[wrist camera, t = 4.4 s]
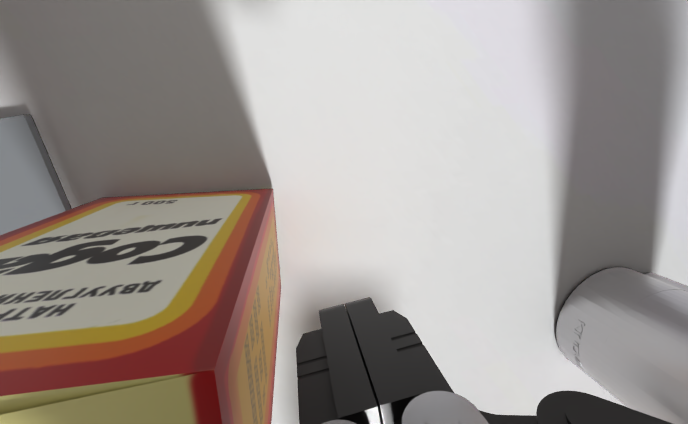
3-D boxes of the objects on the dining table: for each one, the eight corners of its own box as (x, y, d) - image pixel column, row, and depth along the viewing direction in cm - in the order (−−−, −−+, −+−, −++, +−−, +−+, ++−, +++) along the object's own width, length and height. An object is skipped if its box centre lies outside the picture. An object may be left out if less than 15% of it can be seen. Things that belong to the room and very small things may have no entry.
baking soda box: (124, 301, 20) (-389, 832, 5) (102, 197, 19) (-762, 515, 3) (281, 286, 22) (252, 672, 6) (272, 188, 20) (208, 388, 5)
